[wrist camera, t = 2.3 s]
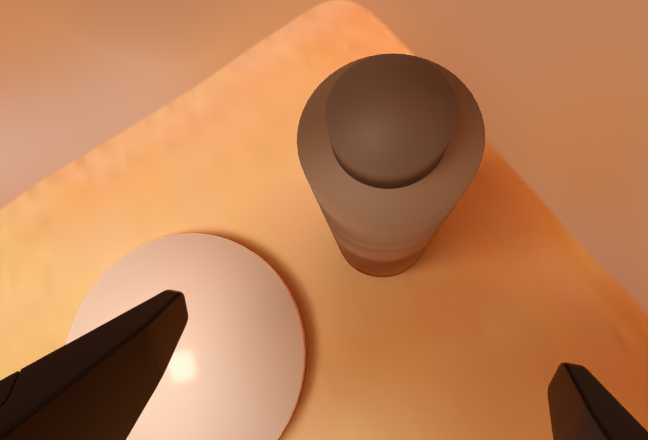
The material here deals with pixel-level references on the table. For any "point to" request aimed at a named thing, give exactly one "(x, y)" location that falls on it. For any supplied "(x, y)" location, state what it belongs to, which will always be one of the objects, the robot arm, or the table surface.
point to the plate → (211, 338)
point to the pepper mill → (389, 156)
